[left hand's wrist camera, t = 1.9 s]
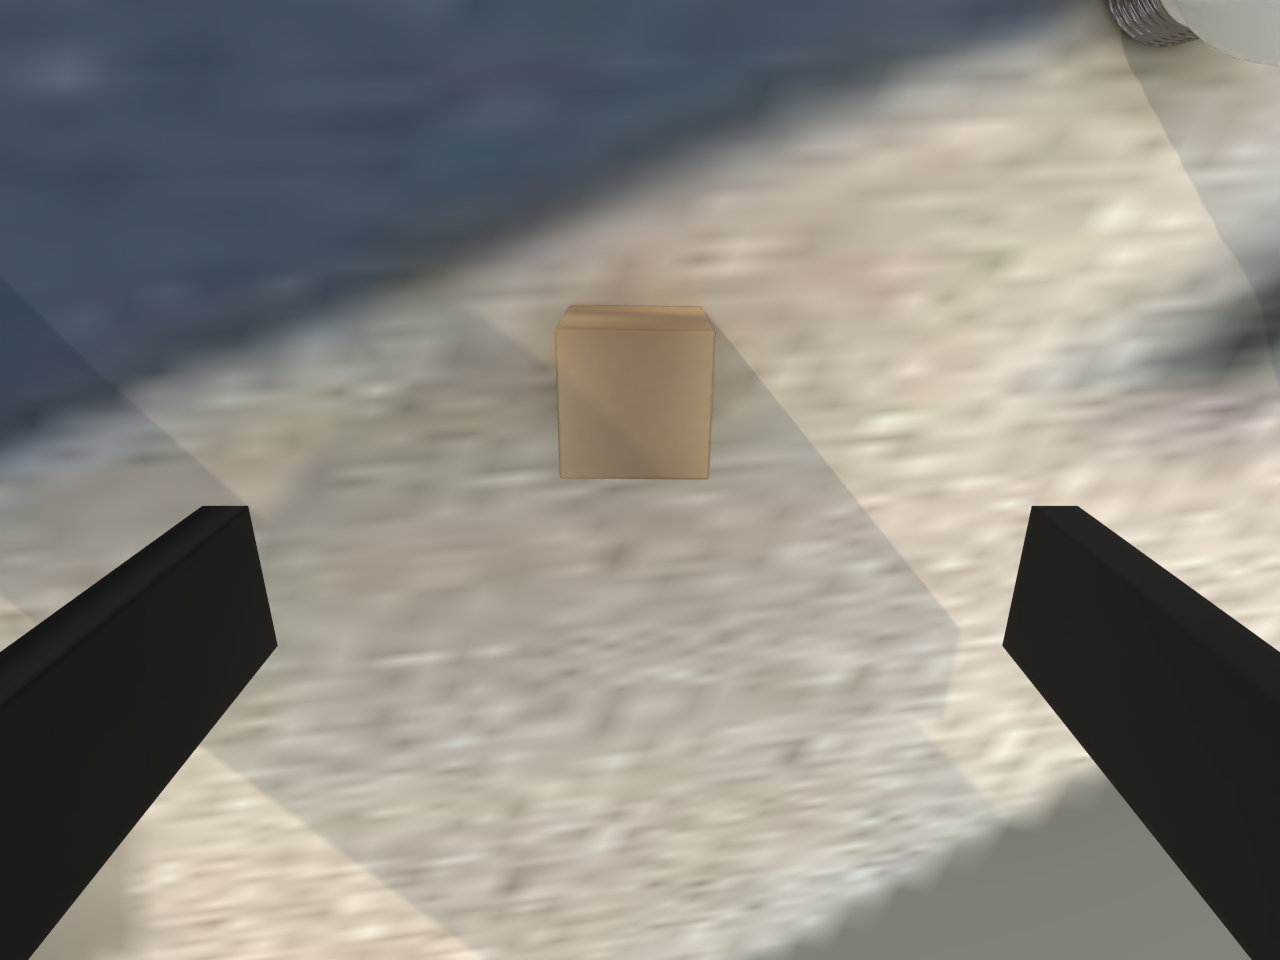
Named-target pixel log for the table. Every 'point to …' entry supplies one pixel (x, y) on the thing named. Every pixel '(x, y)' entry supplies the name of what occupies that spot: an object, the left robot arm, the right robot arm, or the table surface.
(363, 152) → the table surface
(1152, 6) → the light bulb
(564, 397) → the block
